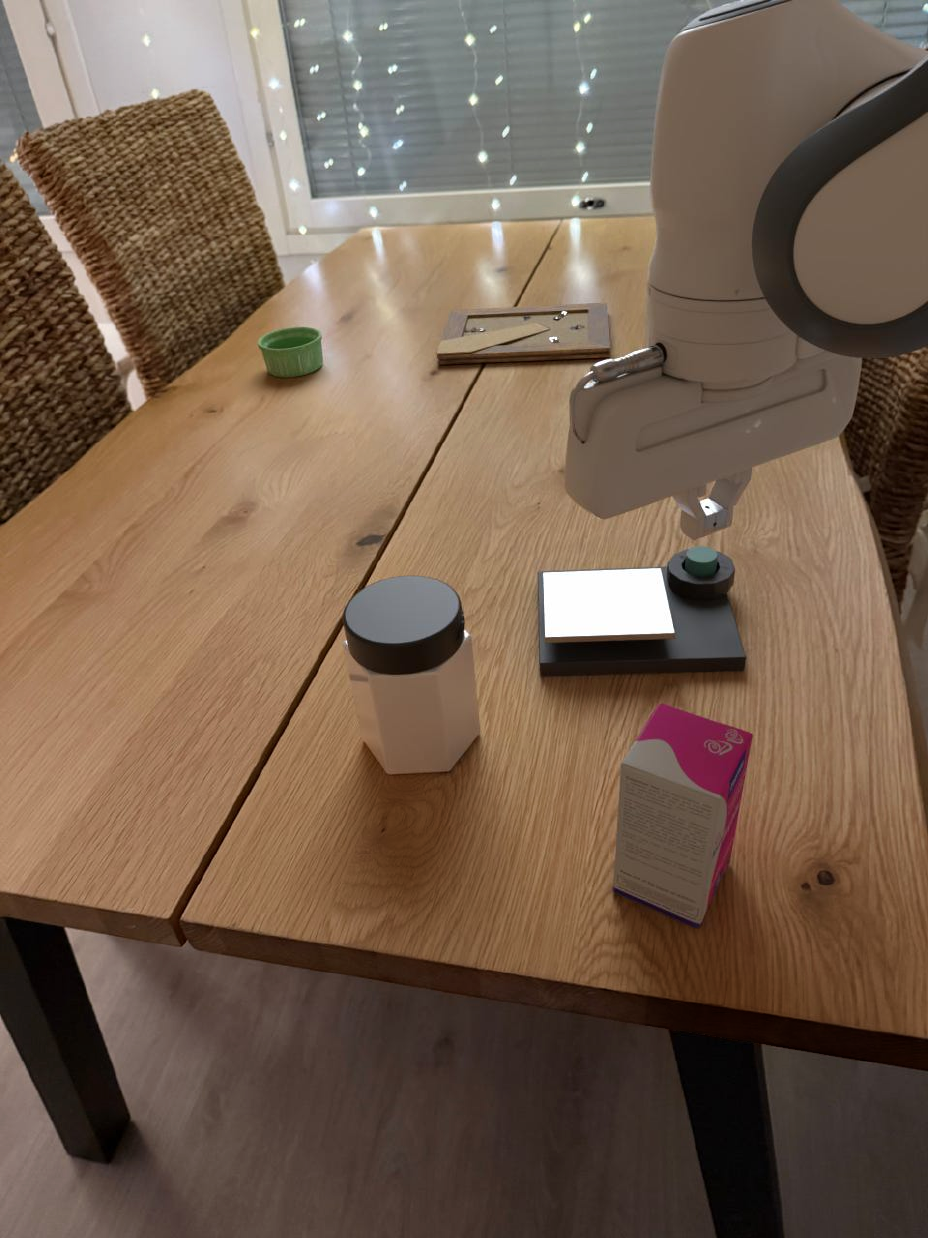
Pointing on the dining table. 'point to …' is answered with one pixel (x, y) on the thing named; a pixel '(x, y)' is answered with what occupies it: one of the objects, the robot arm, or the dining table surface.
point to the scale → (697, 645)
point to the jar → (411, 673)
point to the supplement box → (678, 812)
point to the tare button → (701, 561)
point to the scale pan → (606, 606)
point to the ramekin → (292, 351)
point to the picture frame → (525, 334)
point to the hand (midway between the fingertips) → (705, 530)
